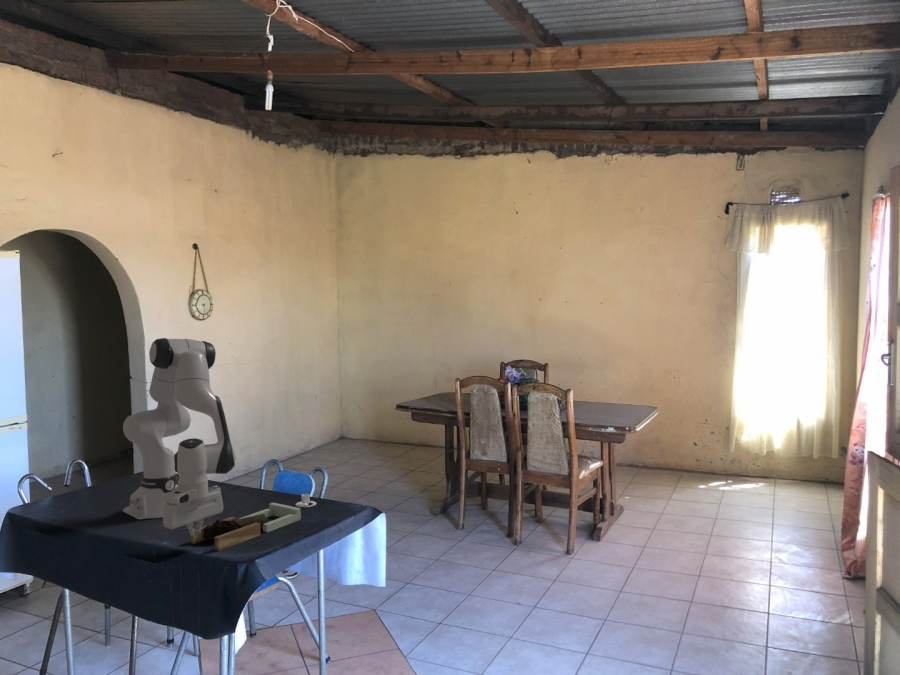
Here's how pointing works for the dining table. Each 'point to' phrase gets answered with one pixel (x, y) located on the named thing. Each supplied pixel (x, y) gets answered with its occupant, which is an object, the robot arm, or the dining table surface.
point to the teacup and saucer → (305, 501)
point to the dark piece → (231, 526)
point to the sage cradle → (283, 511)
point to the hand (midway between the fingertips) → (195, 534)
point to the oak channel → (230, 535)
